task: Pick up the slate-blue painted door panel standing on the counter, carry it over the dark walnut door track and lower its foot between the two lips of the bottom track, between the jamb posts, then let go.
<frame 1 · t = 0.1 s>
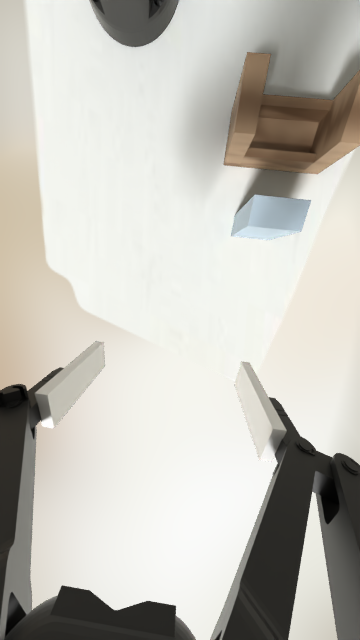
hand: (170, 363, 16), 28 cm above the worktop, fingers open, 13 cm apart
frame: (276, 143, 31), on the worktop
door: (251, 227, 36), on the worktop
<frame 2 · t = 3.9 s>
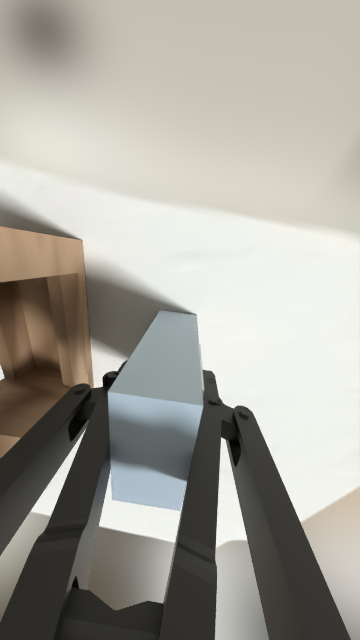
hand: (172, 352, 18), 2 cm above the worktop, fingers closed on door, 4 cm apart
frame: (56, 320, 20), on the worktop
door: (174, 344, 20), on the worktop, touching gripper
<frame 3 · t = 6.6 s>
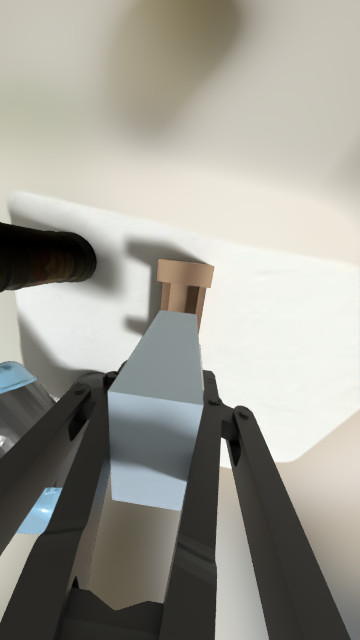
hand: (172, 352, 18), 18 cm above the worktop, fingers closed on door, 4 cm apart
container: (75, 258, 33), on the worktop
frame: (182, 307, 35), on the worktop
door: (174, 344, 20), point 16 cm above the worktop, touching gripper
when the fingers open (5 cm above the worktop, at t = 9.5 s): door drops 2 cm, resting on frame.
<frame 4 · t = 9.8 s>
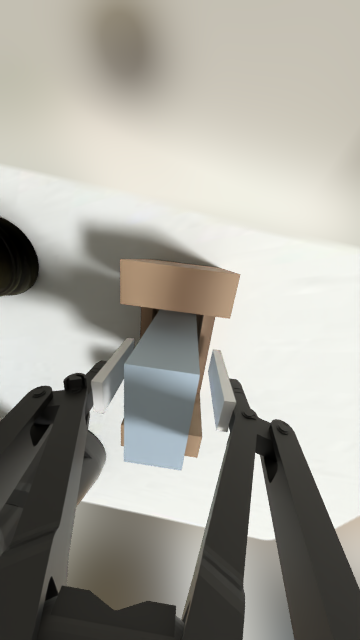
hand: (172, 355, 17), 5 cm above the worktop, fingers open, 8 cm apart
container: (6, 257, 21), on the worktop
frame: (176, 334, 22), on the worktop
door: (175, 337, 21), point 1 cm above the worktop, touching frame
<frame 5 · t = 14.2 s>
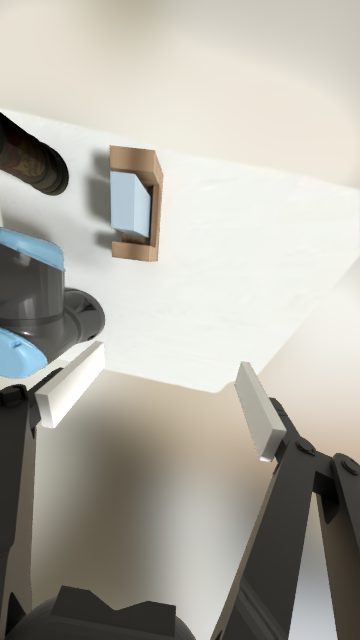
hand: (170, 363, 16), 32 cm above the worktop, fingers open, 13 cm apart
container: (51, 173, 39), on the worktop
frame: (144, 219, 40), on the worktop
door: (142, 218, 39), point 1 cm above the worktop, touching frame
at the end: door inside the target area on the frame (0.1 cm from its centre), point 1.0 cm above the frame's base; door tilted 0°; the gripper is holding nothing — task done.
